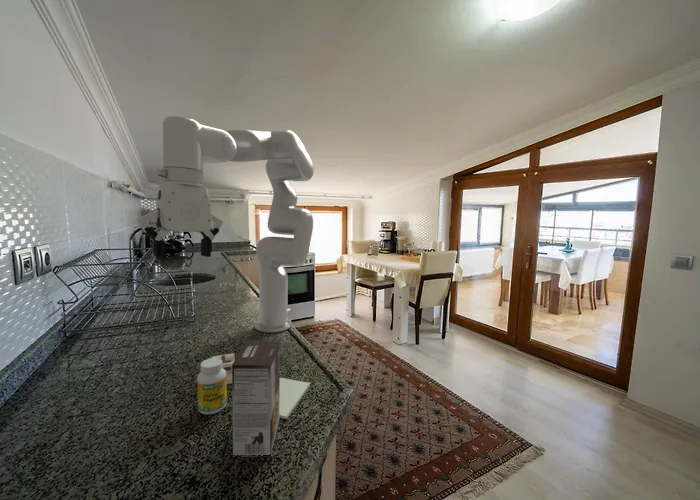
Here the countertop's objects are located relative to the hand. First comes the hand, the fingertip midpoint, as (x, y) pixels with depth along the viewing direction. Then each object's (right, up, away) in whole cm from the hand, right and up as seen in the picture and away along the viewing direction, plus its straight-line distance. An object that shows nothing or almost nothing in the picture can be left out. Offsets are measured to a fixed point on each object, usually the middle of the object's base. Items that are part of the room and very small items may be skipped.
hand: (184, 257), depth 65 cm
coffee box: (+20, -32, -12) cm, 40 cm away
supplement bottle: (+8, -31, -5) cm, 32 cm away
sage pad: (+20, -30, -1) cm, 36 cm away
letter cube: (+6, -29, +5) cm, 30 cm away
